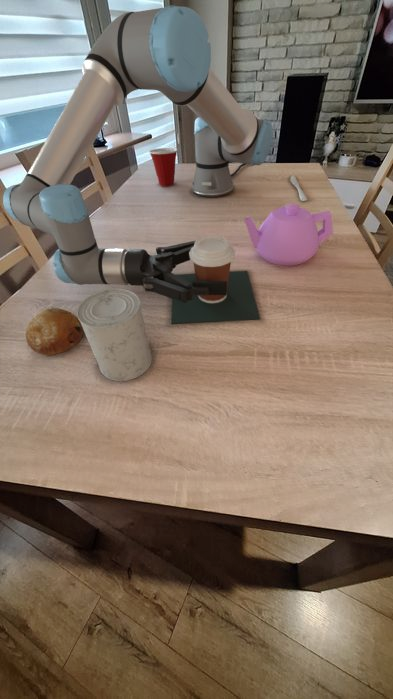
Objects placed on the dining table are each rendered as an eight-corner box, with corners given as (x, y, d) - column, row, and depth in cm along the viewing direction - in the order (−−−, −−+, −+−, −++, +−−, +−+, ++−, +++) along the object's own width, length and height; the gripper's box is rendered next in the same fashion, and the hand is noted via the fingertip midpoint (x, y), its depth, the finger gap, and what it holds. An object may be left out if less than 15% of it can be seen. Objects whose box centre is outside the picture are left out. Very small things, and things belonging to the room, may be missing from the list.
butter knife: (299, 200, 101) (308, 199, 101) (288, 175, 120) (296, 175, 120) (298, 201, 102) (308, 201, 101) (288, 177, 121) (296, 176, 120)
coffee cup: (186, 288, 69) (182, 238, 60) (222, 279, 71) (223, 229, 62) (201, 311, 63) (199, 259, 54) (240, 300, 65) (244, 248, 56)
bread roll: (56, 335, 66) (25, 310, 60) (92, 315, 63) (63, 288, 58) (43, 369, 59) (7, 345, 54) (84, 349, 56) (50, 321, 51)
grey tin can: (160, 347, 57) (150, 293, 48) (137, 386, 50) (121, 333, 42) (116, 337, 59) (98, 284, 50) (88, 374, 53) (63, 320, 44)
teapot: (317, 237, 84) (329, 190, 75) (336, 266, 73) (352, 216, 65) (238, 241, 84) (241, 195, 76) (245, 271, 74) (249, 221, 65)
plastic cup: (182, 179, 124) (179, 144, 116) (178, 188, 117) (175, 152, 108) (156, 179, 125) (151, 145, 117) (150, 188, 118) (145, 153, 109)
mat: (173, 275, 74) (173, 274, 73) (247, 271, 73) (247, 270, 73) (171, 324, 61) (171, 323, 61) (260, 319, 61) (260, 318, 61)
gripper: (145, 254, 76) (229, 255, 73) (115, 318, 59) (224, 322, 56) (139, 224, 70) (230, 225, 68) (105, 285, 53) (225, 289, 51)
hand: (228, 269), depth 62 cm, fingers open, 13 cm apart
